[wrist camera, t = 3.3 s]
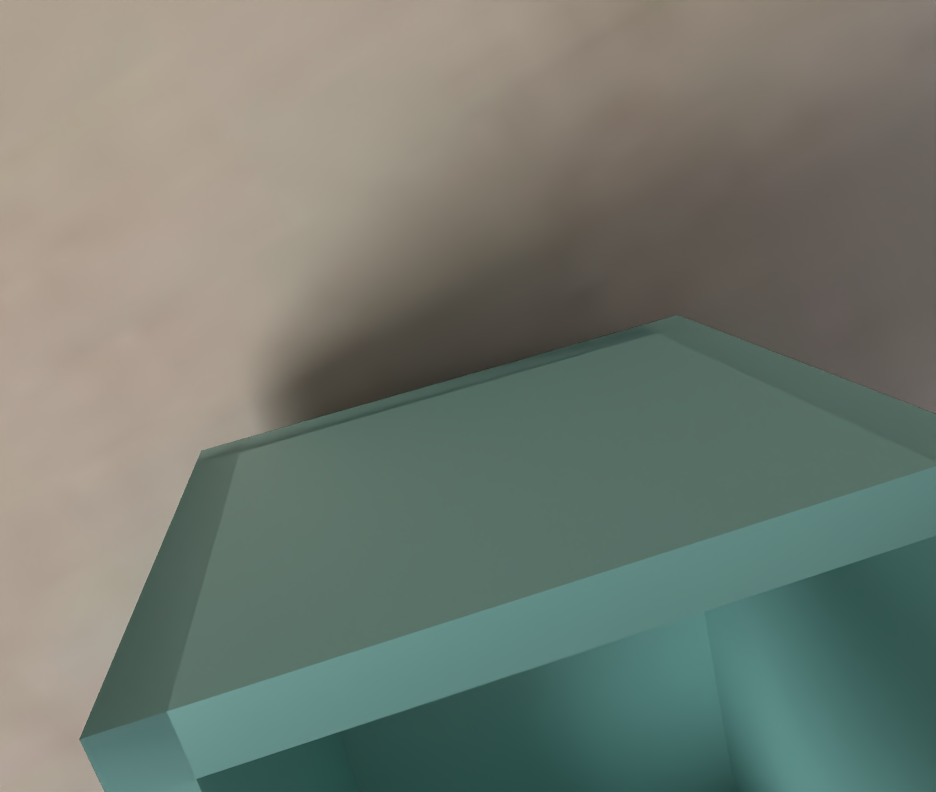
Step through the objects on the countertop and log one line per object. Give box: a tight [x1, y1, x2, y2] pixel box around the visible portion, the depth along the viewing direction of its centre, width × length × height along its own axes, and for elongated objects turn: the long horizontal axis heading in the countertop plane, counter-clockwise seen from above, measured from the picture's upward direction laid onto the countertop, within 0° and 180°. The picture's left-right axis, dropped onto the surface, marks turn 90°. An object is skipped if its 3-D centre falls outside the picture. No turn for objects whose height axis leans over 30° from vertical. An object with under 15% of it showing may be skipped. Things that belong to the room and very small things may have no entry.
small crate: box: [80, 315, 936, 792], centre depth 8 cm, size 8×6×5 cm
